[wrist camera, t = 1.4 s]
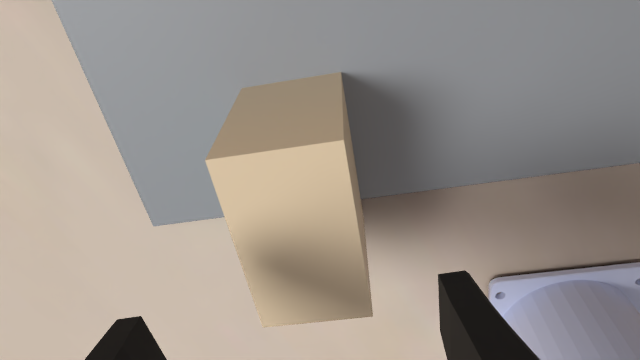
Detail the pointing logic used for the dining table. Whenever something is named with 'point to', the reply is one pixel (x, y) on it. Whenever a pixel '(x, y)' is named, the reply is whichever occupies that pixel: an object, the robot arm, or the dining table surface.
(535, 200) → the dining table surface
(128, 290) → the dining table surface
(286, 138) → the carton
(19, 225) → the dining table surface
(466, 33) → the shelf board
